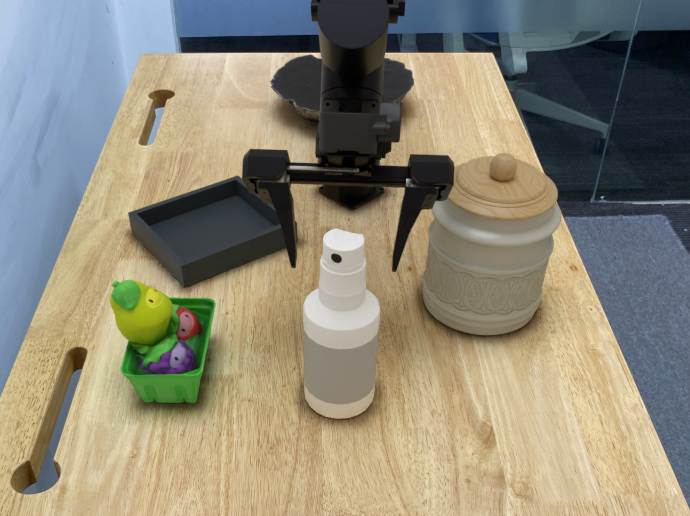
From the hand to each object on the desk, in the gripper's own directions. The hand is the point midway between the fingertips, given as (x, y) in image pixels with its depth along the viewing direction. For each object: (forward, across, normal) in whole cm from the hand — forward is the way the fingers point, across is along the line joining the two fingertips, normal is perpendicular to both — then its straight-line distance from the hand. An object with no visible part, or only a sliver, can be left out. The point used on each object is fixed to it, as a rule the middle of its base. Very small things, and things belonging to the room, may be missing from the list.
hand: (343, 269), depth 70 cm
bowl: (-34, -3, +48) cm, 59 cm away
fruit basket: (+10, -17, +7) cm, 21 cm away
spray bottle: (+12, 0, +5) cm, 13 cm away
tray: (-7, -16, +24) cm, 30 cm away
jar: (0, +15, +17) cm, 22 cm away
